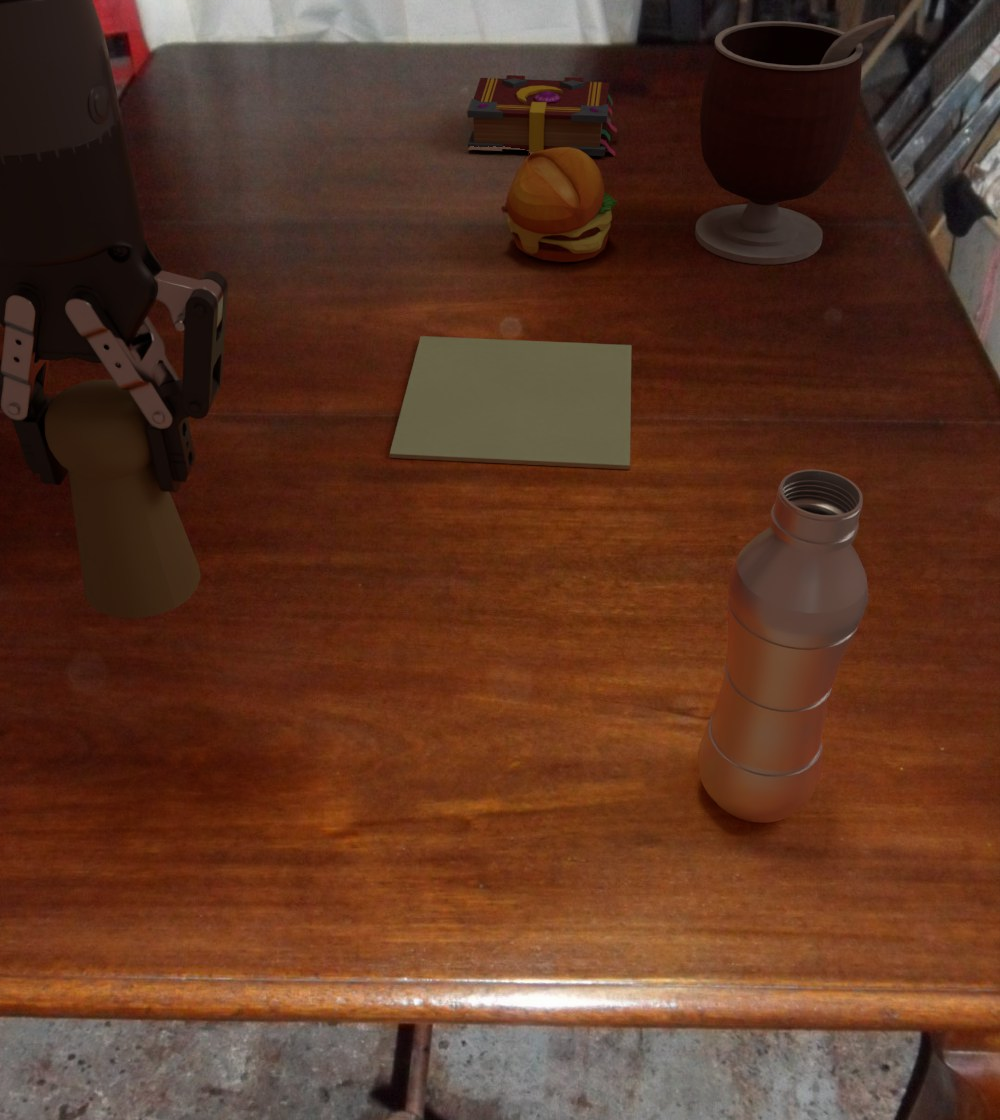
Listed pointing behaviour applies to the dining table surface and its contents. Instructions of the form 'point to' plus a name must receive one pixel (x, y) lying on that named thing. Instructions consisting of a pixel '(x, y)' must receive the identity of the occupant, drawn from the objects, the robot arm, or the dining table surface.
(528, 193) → the cheeseburger
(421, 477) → the dining table surface
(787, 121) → the mate gourd
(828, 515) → the plastic bottle
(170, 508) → the cork
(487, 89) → the decorative book
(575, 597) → the dining table surface
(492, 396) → the mat
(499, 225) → the dining table surface
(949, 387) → the dining table surface
